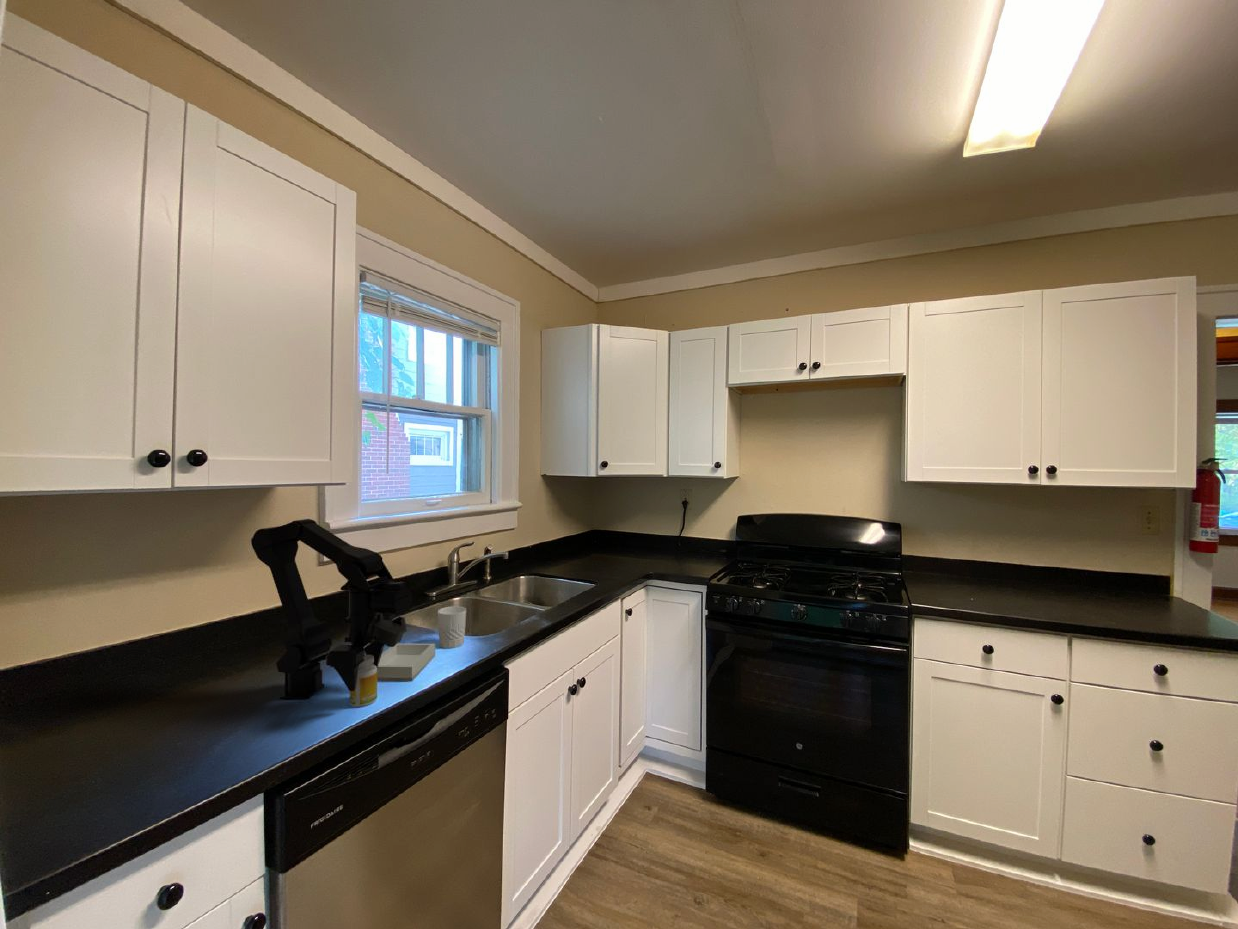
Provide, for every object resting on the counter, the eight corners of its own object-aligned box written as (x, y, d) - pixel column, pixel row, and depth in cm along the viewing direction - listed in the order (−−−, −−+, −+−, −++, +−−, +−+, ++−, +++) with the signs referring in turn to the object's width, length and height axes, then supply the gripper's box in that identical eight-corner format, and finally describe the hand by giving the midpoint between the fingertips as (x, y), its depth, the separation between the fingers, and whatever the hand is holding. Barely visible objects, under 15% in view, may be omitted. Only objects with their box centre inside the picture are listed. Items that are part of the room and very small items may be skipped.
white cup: (454, 651, 137) (454, 615, 137) (431, 647, 139) (431, 612, 139) (471, 641, 144) (471, 607, 144) (449, 638, 147) (449, 605, 147)
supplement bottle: (381, 695, 111) (381, 653, 110) (370, 707, 105) (370, 662, 105) (357, 696, 110) (357, 653, 110) (344, 708, 105) (344, 663, 105)
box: (366, 681, 118) (366, 666, 118) (394, 656, 133) (394, 643, 133) (411, 681, 118) (412, 666, 118) (435, 656, 133) (435, 643, 133)
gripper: (379, 625, 98) (379, 702, 98) (417, 599, 117) (417, 663, 117) (324, 624, 98) (324, 701, 98) (371, 598, 117) (370, 663, 117)
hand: (363, 681), depth 108 cm, fingers open, 9 cm apart
